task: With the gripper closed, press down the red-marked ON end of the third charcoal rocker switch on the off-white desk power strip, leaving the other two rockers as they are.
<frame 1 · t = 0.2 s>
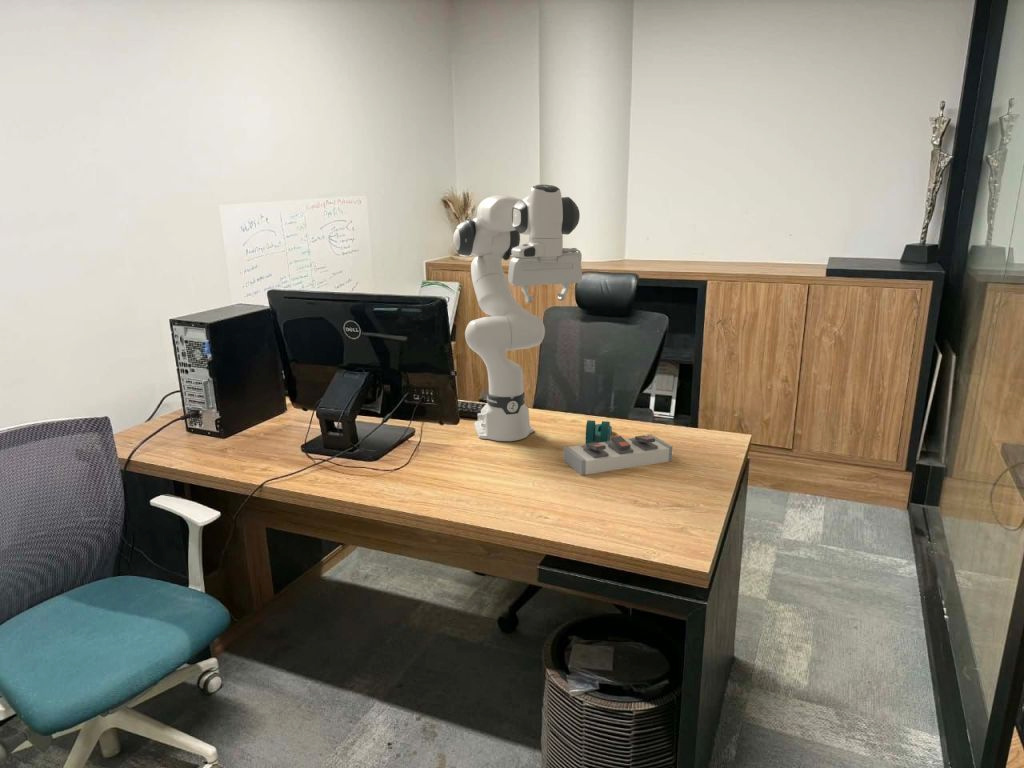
hand: (545, 301, 187), 48 cm above the table, tool pointing down, fingers open, 8 cm apart
rocker 3: (645, 439, 204), point 6 cm above the table, hinge at -9.0°
rocker 2: (620, 442, 201), point 6 cm above the table, hinge at 9.0°
bracket: (599, 440, 222), on the table
power strip: (617, 460, 204), on the table
rocker 1: (595, 446, 198), point 6 cm above the table, hinge at -9.0°
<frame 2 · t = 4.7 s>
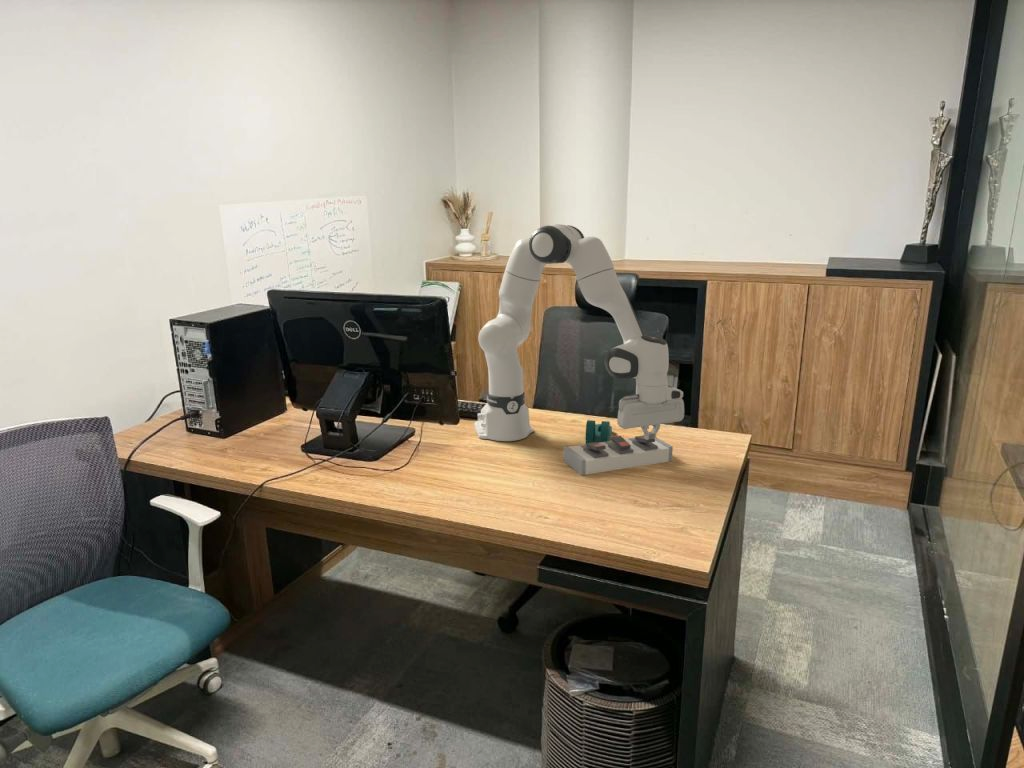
hand: (650, 439, 201), 7 cm above the table, tool pointing down, fingers closed, pressing on rocker 3
rocker 3: (645, 439, 204), point 6 cm above the table, hinge at -8.7°, touching gripper
everything else where it was.
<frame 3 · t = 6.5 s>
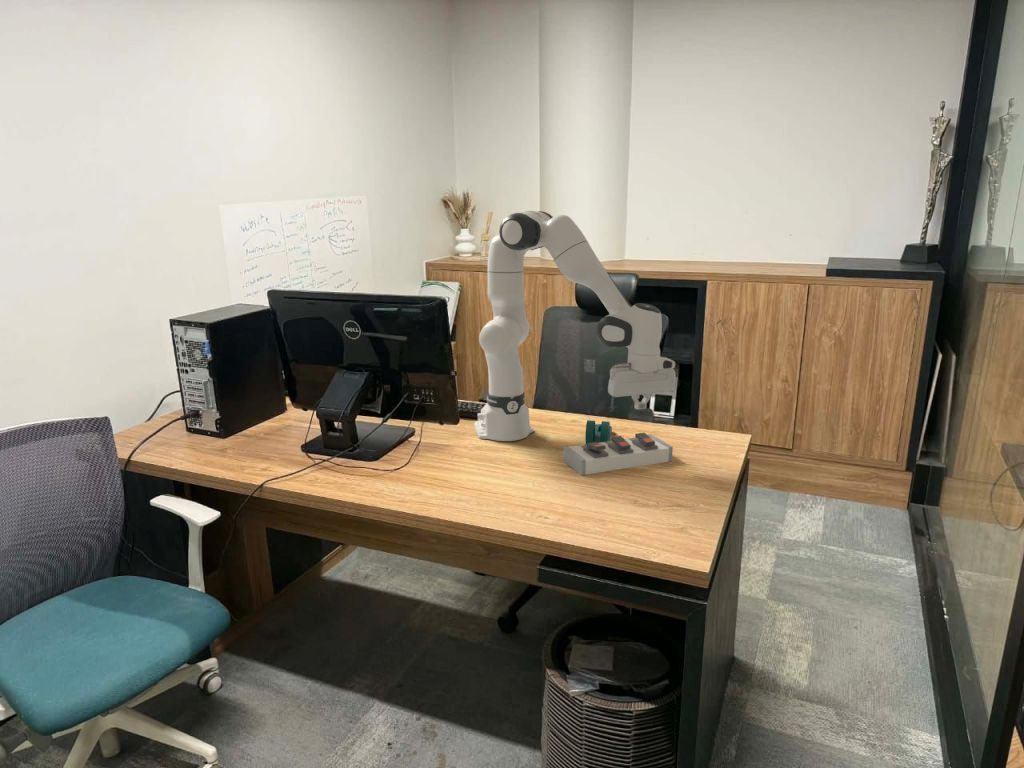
hand: (640, 408, 200), 16 cm above the table, tool pointing down, fingers closed
rocker 3: (645, 439, 204), point 6 cm above the table, hinge at 8.0°
everything else where it was.
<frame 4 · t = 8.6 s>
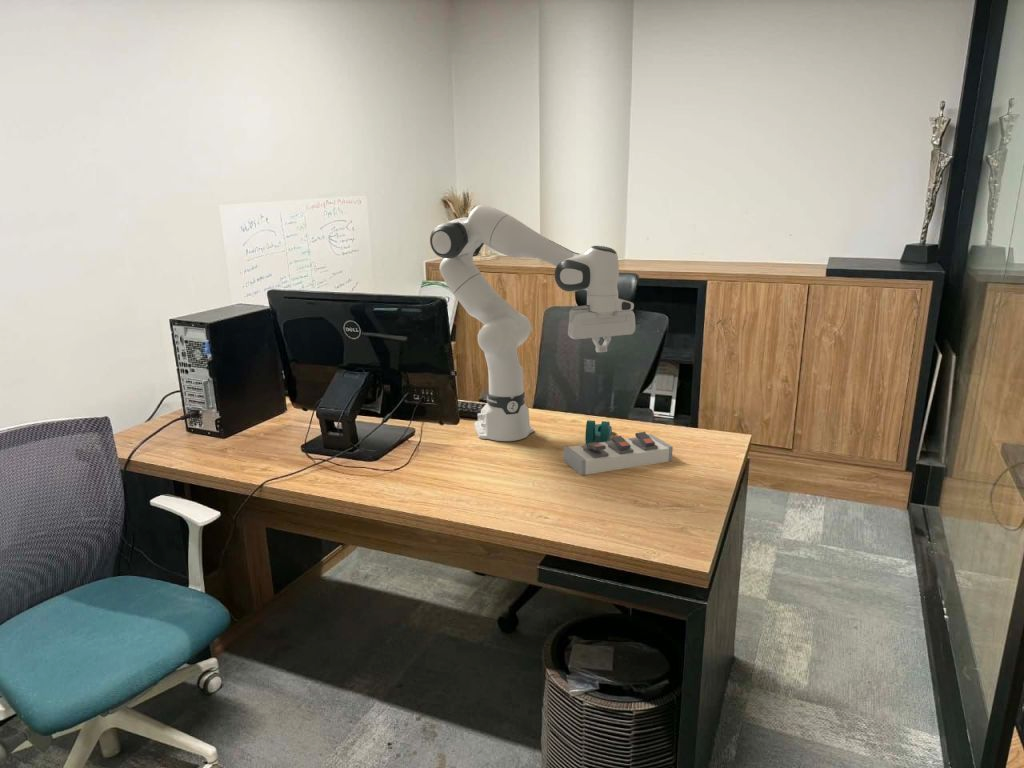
hand: (601, 351, 202), 31 cm above the table, tool pointing down, fingers closed
rocker 3: (645, 439, 204), point 6 cm above the table, hinge at 13.7°
everything else where it was.
at the end: rocker 3 at +14° (first picture: -9°); rocker 2 at +9° (first picture: +9°); rocker 1 at -9° (first picture: -9°) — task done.
